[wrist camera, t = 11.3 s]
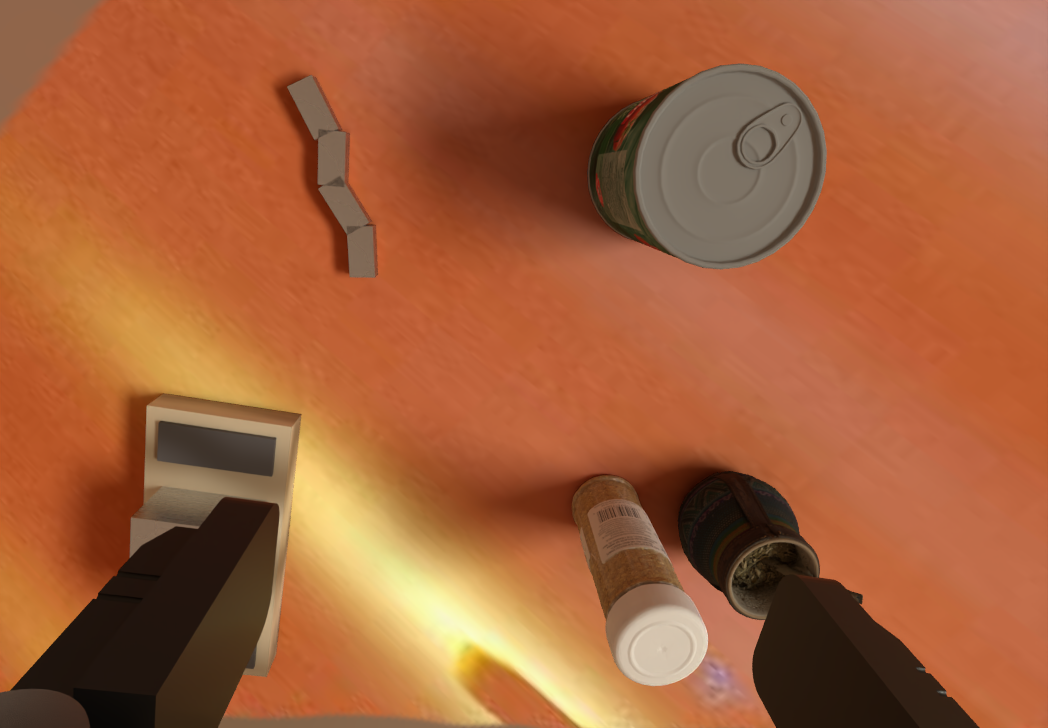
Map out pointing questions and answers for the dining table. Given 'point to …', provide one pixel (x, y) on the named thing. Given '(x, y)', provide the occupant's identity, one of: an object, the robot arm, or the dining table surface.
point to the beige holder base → (228, 472)
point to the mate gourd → (744, 540)
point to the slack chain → (337, 175)
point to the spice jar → (637, 586)
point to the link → (172, 513)
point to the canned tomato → (712, 167)
